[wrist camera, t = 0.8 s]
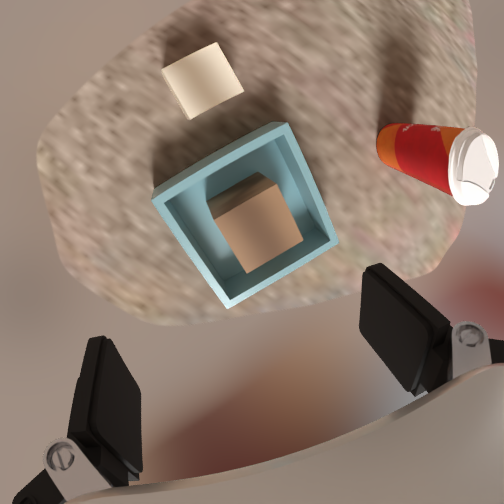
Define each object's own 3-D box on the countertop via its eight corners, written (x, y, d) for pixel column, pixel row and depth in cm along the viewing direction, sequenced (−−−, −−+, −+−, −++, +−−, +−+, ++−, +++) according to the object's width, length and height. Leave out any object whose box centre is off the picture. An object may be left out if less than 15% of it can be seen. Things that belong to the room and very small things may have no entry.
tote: (272, 121, 29) (287, 122, 25) (321, 227, 36) (339, 242, 32) (153, 188, 29) (151, 200, 25) (220, 287, 36) (227, 309, 32)
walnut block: (257, 171, 30) (276, 183, 25) (282, 219, 33) (303, 240, 28) (205, 201, 30) (213, 220, 25) (234, 247, 33) (246, 273, 28)
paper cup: (422, 136, 34) (507, 158, 22) (398, 185, 36) (481, 222, 24) (384, 101, 31) (477, 110, 19) (358, 154, 33) (447, 184, 21)
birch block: (209, 53, 25) (216, 42, 21) (232, 95, 27) (244, 91, 23) (163, 77, 25) (161, 69, 21) (187, 119, 27) (190, 119, 23)
